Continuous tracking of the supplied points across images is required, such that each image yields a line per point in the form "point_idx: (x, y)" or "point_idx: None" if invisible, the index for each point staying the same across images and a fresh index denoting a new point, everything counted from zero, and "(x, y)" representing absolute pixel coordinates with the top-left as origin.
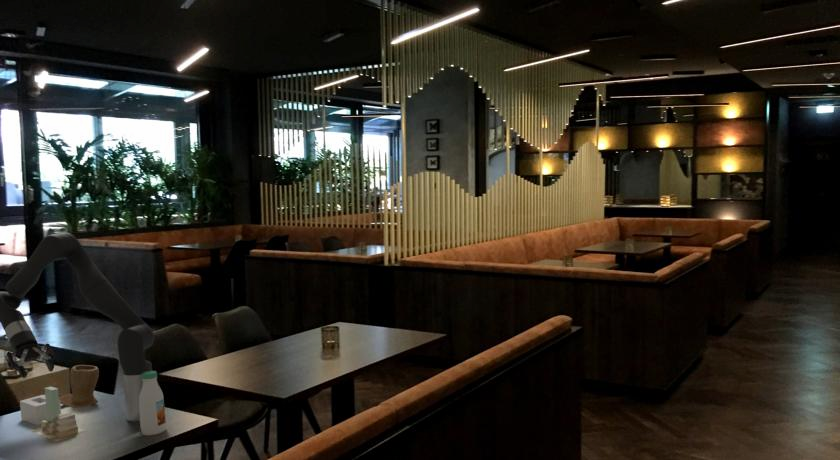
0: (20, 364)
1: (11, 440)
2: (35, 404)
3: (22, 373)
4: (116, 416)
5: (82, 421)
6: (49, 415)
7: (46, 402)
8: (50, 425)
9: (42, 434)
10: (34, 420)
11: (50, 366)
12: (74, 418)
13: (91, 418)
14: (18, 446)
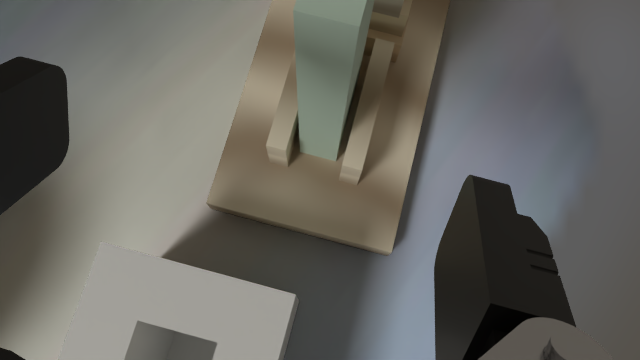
0: (564, 332)
1: None
2: (254, 350)
3: (529, 226)
4: (12, 8)
5: (121, 138)
6: (351, 93)
7: (351, 81)
8: (389, 60)
9: (412, 115)
10: (287, 339)
11: (32, 84)
12: None
13: None
14: (530, 163)
